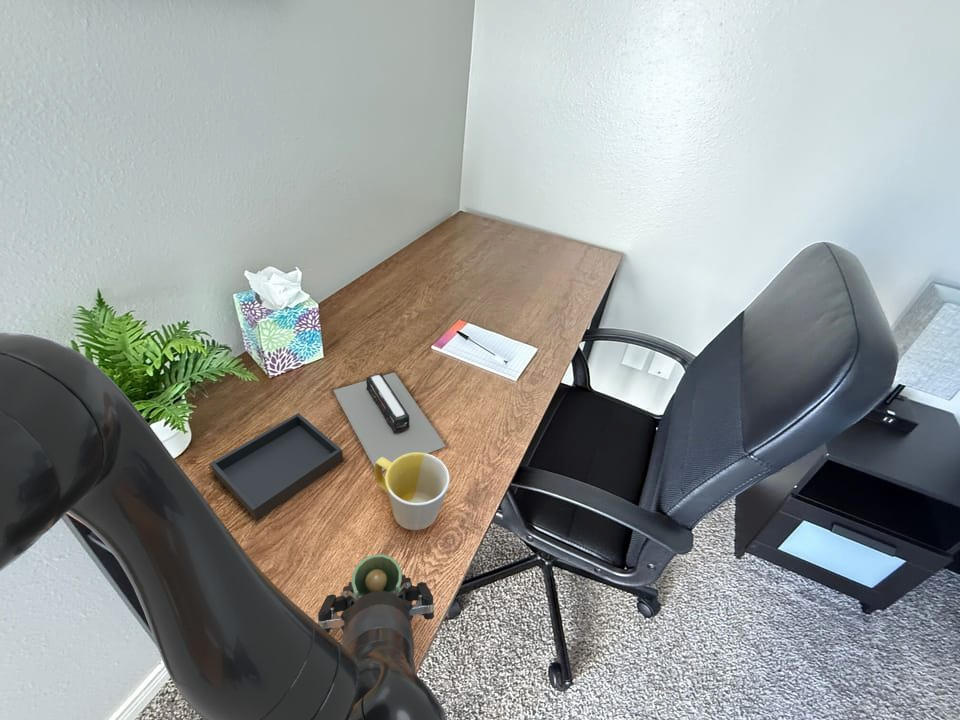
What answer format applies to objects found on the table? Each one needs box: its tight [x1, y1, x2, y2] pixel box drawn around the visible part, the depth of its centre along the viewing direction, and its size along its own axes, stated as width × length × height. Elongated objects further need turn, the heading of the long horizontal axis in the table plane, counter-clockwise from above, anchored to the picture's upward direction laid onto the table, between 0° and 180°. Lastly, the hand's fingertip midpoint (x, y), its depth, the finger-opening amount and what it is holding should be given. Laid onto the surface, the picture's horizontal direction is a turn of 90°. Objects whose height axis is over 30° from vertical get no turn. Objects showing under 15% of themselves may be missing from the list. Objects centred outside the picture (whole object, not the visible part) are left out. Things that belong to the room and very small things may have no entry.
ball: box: [365, 569, 387, 592], centre depth 64 cm, size 3×3×3 cm
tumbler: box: [351, 553, 403, 595], centre depth 64 cm, size 6×6×10 cm
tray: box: [209, 412, 344, 522], centre depth 83 cm, size 17×13×3 cm
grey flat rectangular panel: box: [332, 371, 447, 472], centre depth 96 cm, size 14×25×4 cm, turn 32°
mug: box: [374, 452, 451, 531], centre depth 78 cm, size 14×10×10 cm
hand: (377, 585), depth 66 cm, fingers closed on tumbler, 6 cm apart
